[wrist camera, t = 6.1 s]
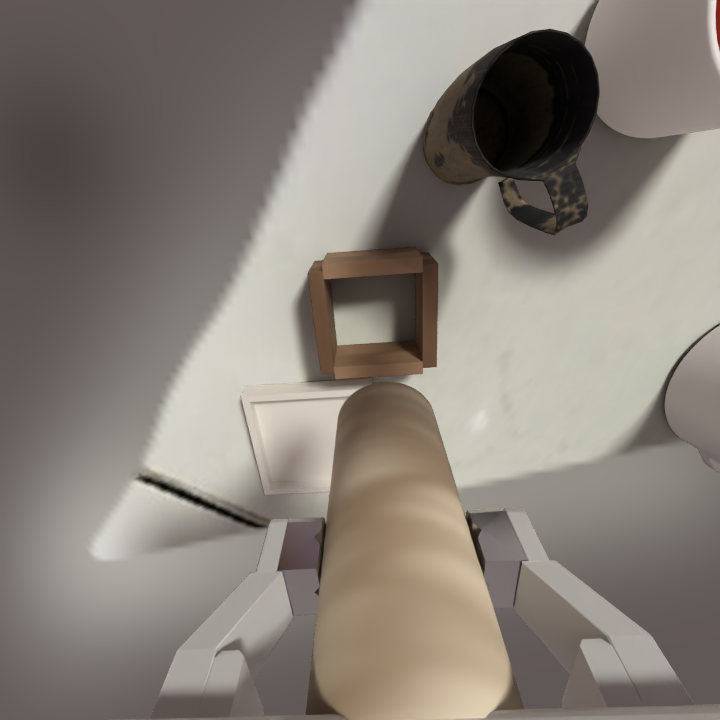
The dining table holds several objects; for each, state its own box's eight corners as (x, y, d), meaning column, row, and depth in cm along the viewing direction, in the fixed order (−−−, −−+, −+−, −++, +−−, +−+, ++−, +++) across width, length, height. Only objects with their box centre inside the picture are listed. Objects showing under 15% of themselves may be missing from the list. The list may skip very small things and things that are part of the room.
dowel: (435, 378, 14) (555, 706, 5) (434, 460, 16) (524, 813, 7) (332, 384, 15) (282, 714, 6) (342, 465, 16) (315, 815, 7)
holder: (428, 245, 28) (438, 255, 24) (427, 350, 31) (436, 373, 28) (313, 254, 28) (306, 265, 24) (326, 357, 32) (321, 380, 28)
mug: (407, 114, 24) (445, 61, 13) (489, 64, 23) (603, -38, 12) (453, 229, 27) (514, 262, 16) (528, 190, 26) (646, 197, 15)
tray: (372, 378, 32) (373, 388, 31) (378, 475, 37) (379, 489, 36) (246, 385, 33) (240, 396, 31) (268, 481, 38) (264, 495, 36)
